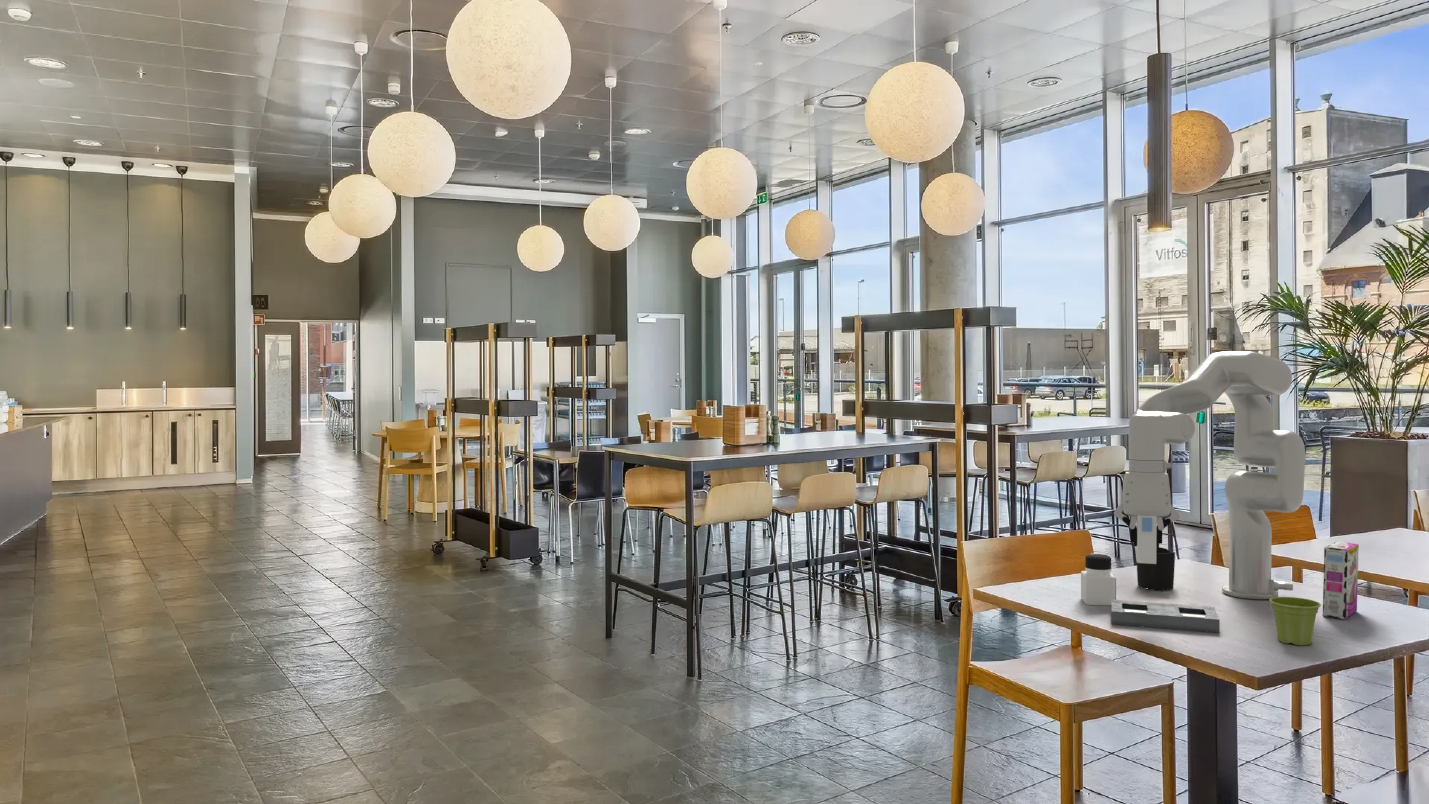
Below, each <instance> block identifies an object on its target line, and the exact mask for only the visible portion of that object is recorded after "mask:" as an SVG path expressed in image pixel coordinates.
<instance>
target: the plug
mask: <svg viewBox="0 0 1429 804" xmlns="http://www.w3.org/2000/svg"><path fill="white" fill-rule="evenodd" d="M1136 528H1137V546H1135V547H1136V548H1135V549H1136V550H1135V553H1136V554H1135V555H1136V556H1135V557H1136V564H1137V563H1148V564H1156V535H1157V516H1143V515H1137V521H1136Z"/></svg>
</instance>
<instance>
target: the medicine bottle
mask: <svg viewBox="0 0 1429 804" xmlns="http://www.w3.org/2000/svg"><path fill="white" fill-rule="evenodd" d="M1084 564H1085V567H1084V568H1085V569H1084V570H1082V571H1080V599H1081V600H1082V601H1083V602H1084V604H1085V605H1086V606H1109V607H1111V599H1113V600H1117V577H1115V576H1114V575H1113V573H1112V557H1111V556H1110V555H1108V554H1104V553H1088V554H1087V555H1086V556H1085V562H1084Z"/></svg>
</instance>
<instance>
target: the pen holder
mask: <svg viewBox="0 0 1429 804" xmlns="http://www.w3.org/2000/svg"><path fill="white" fill-rule="evenodd" d="M1175 560H1176V552H1174V551H1173V552H1172V551H1170V549H1168V548H1165V547H1161V546H1159V548H1157V547H1156V564H1148V563H1137V562H1136V577H1137V586H1138V587H1139V586H1140V587H1139V588H1141V587H1142V588H1141V589H1144V588H1148V589H1154V590H1153V591H1157V590H1166V591H1171V590H1173V588H1174V583H1175V582H1174V581H1175V565H1176V563H1175V562H1176V561H1175ZM1148 589H1147V590H1148ZM1170 589H1171V590H1170Z"/></svg>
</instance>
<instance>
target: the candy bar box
mask: <svg viewBox="0 0 1429 804" xmlns="http://www.w3.org/2000/svg"><path fill="white" fill-rule="evenodd" d="M1359 546H1360V545H1359V544H1358V543H1353V542H1345V541H1344V542H1343V541H1335V542H1334V543H1331V544H1329V545H1327V546H1324V548H1323V551H1324V552H1323V586H1322V588H1323V591H1322V594H1323V595H1322V617H1325V618H1330V619H1336V620H1337V619H1338V620H1347V619H1349V617H1351V616H1352V615H1353V614H1355V613H1356V612H1357V610H1358V584H1359V583H1358V581H1359V580H1358V578H1359V577H1358V575H1359Z"/></svg>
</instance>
